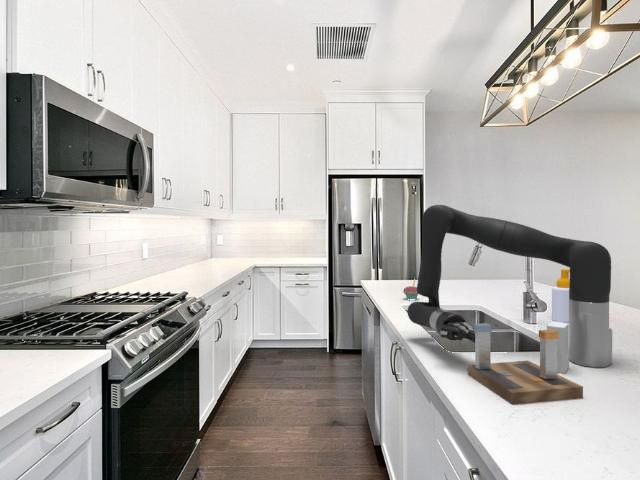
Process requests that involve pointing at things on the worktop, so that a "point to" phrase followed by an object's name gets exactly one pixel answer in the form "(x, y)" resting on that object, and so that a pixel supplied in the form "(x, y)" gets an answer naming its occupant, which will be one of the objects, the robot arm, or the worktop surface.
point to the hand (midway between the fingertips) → (479, 339)
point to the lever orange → (548, 353)
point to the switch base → (524, 383)
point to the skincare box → (561, 345)
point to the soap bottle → (561, 298)
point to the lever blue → (482, 345)
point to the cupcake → (411, 292)
